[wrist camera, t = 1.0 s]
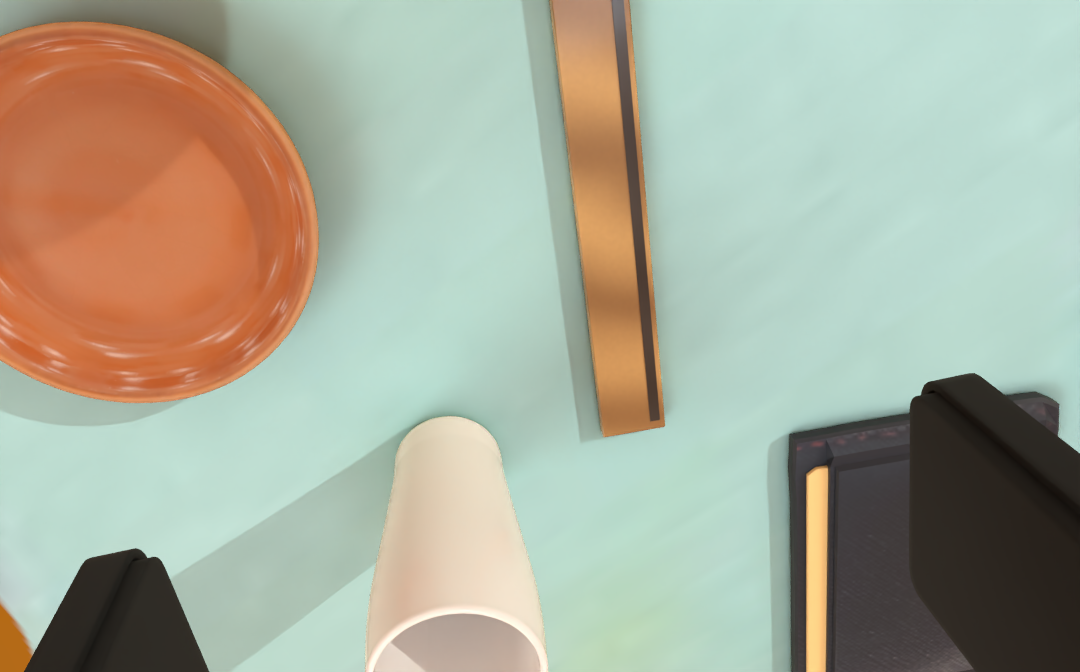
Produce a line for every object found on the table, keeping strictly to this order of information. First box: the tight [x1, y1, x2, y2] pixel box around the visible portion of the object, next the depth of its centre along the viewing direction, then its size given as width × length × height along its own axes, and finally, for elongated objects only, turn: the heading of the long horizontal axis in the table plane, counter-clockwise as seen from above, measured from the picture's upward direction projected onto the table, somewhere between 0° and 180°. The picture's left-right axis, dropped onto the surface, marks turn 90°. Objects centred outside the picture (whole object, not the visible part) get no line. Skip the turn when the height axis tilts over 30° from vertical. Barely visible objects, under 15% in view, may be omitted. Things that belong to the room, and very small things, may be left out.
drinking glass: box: [365, 416, 548, 672], centre depth 39 cm, size 7×7×15 cm
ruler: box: [549, 0, 665, 437], centre depth 40 cm, size 30×3×1 cm, turn 8°
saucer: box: [0, 22, 319, 403], centre depth 38 cm, size 16×16×3 cm
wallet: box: [788, 392, 1059, 672], centre depth 52 cm, size 20×2×15 cm
